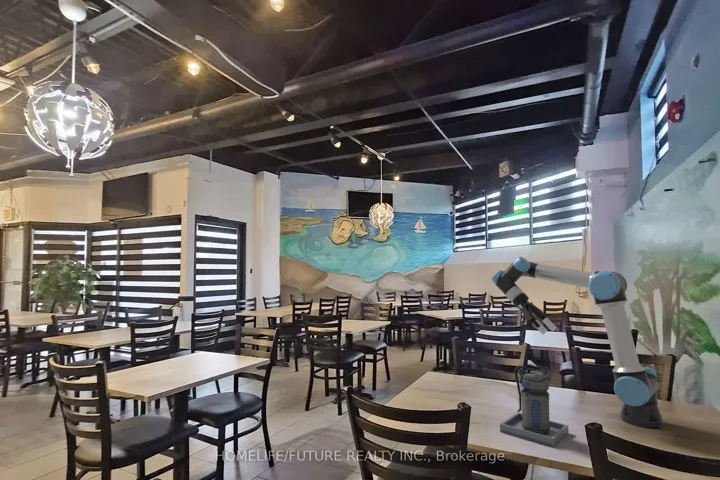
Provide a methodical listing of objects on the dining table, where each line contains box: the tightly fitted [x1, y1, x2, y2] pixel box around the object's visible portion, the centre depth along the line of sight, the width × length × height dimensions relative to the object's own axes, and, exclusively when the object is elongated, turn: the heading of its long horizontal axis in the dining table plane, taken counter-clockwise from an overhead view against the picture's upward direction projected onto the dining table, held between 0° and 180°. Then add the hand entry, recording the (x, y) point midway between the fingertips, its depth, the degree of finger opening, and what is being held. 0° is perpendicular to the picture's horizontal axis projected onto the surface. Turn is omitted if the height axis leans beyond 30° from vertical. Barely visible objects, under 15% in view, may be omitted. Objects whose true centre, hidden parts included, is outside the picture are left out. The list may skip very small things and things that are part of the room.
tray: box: [499, 412, 569, 449], centre depth 158 cm, size 20×18×3 cm
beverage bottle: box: [514, 365, 552, 434], centre depth 159 cm, size 10×13×25 cm
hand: (550, 331), depth 187 cm, fingers open, 13 cm apart
